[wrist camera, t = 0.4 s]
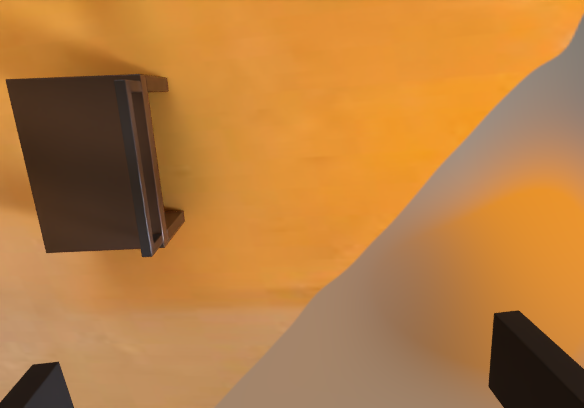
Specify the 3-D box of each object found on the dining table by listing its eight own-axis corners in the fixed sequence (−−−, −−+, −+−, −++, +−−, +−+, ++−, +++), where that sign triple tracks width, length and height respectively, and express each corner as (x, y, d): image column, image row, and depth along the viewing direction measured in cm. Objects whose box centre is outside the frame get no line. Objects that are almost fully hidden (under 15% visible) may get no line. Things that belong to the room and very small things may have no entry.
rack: (58, 82, 35) (-27, 77, 25) (167, 77, 35) (123, 71, 26) (87, 225, 39) (22, 268, 29) (184, 221, 39) (153, 262, 29)
